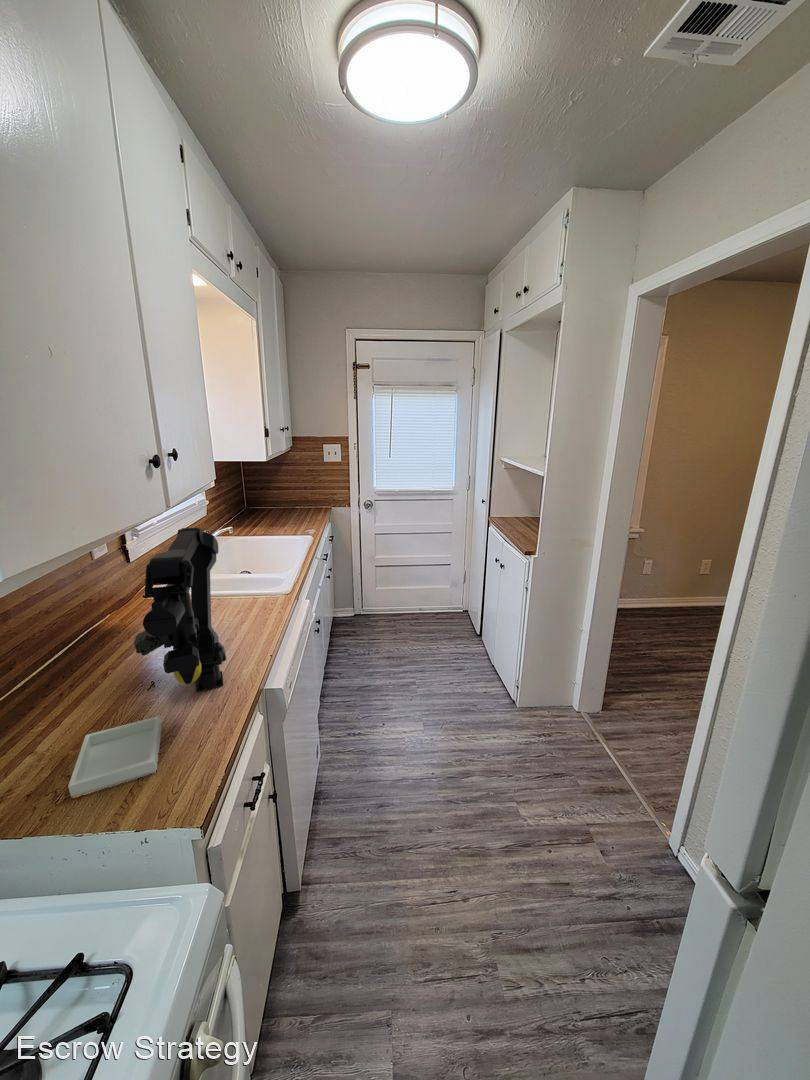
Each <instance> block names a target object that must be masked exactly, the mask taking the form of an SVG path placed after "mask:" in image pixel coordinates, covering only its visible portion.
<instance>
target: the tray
mask: <svg viewBox="0 0 810 1080" xmlns="http://www.w3.org/2000/svg"><path fill="white" fill-rule="evenodd" d="M161 736H162V723H161V716H160V715H158V716H153V717H150V718H145V719H142V720H138V721H134V722H130V723H127V724H124V725H119V726H116V727H111V728H108V729H103V730H100V731H96V732H92V733H88V734H85V736H84V739H83V743H82V744H81V748H80V750H79V754H78V756H77V760H76V762H75V765H74V769H73V772H72V774H71V777H70V781H69V782H68V786H67V787H68V791H69V794H70V798H71V797H72V796H75V795H78V794H82V793H87V792H90V791H94V790H99V789H104V788H107V787H110V786H114V785H116V784H119V783H123V782H126V781H130V780H133V779H136V780H138V779H137V778H140V777H143V776H146V775H149V774H152V775H154V774H153V773H156V770H157V771H158V764H157V762H159V755H158V753H160V746H161V745H160V744H161ZM156 774H157V773H156ZM149 776H150V775H149ZM146 777H147V776H146ZM143 778H144V777H143ZM140 779H141V778H140ZM133 781H134V780H133ZM130 782H131V781H130ZM123 784H124V783H123ZM114 787H115V786H114ZM110 788H111V787H110ZM107 789H108V788H107ZM104 790H105V789H104Z"/></svg>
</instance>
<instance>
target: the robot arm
mask: <svg viewBox="0 0 810 1080" xmlns="http://www.w3.org/2000/svg"><path fill="white" fill-rule="evenodd" d="M219 549H220V548H219V542H218V540H217V539H216V537H215V536H214V535H213V534H211V533H208V532H205V531H204V530H203V528H201V527H198V526H197V527H182V528H181V529H178V531H177V535H176V536H175V539H174V540H173V542H172V543H171V544H170V546H169V547H168V549H167V550H166V551H163V552H159V553H157V554H155V555H154V556H152V558H151V559H150V560H149V562H148V563H147V564H146V568H145V580H144V581H145V582H144V598H145V599H147V598H149V599H150V598H152V599H153V602H152V603H151V604H150V609H149V611H148V612H147V613H146V614H145V615H144V618H143V620H142V626H143V628H144V630H143V631H141V632H140V633H138V634H136V636H135V637H134V641H133V645H134V648H135V653H136V654H140V655H142V656H144V657H146V656H147V655H148V654H150V653H151V652H153V651H156V649H159V648H160V647H164V649H168V648H172V650H168V651H167V652H166V654H165V655H164V657H163V661H162V663H163V664H162V665H163V670H164V673H165V674H171V673H173V672H177V671H178V672H179V674H180V675H181V677H182V679H183V680H184V682H185V685H191V684H192V683H193V682H192V679H193V676H194V673H195V670H196V667H197V666H198V665H199V660H200V662H201V674H200V676H199V677H198V679H197V680H196V681H195V692H196V693H199V692H203V691H207V690H211V689H216V688H218V687H222V686H223V685H224V677H223V671H222V670H221V669H220V668H221V667H220V666H222V665H223V663H224V662H225V661H226V660H227V655H226V650H225V646H224V645H223V644H222V643H221V642H219V640H220V639H219V635H218V634H217V632H216V631H215V629H214V628H213V627H212V604H211V603H212V602H211V601H212V599H211V598H212V597H211V596H212V594H211V592H212V591H211V570H212V569H213V567H214V565H215V564H216V562H217V555H218V554H219ZM154 586H157V587H154ZM191 682H192V683H191ZM190 683H191V684H190Z"/></svg>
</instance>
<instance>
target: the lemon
mask: <svg viewBox="0 0 810 1080" xmlns="http://www.w3.org/2000/svg"><path fill="white" fill-rule="evenodd" d="M172 673H173V676H174V678H175V680H176V681H177V682H178V683H180V684H183V685H184V684H185V682H184V680H183V679H182V677H181V675H180V674H179V672H178V671H177V672H172ZM200 674H201V662H200V660H199V665H198V666H197V667H196V670H195V673H194V676H193V679H192V682H191V683H190V684H189V685H191V684H192V683H194V682H196V680H197V679H198V677H199V676H200ZM185 685H186V684H185Z"/></svg>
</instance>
